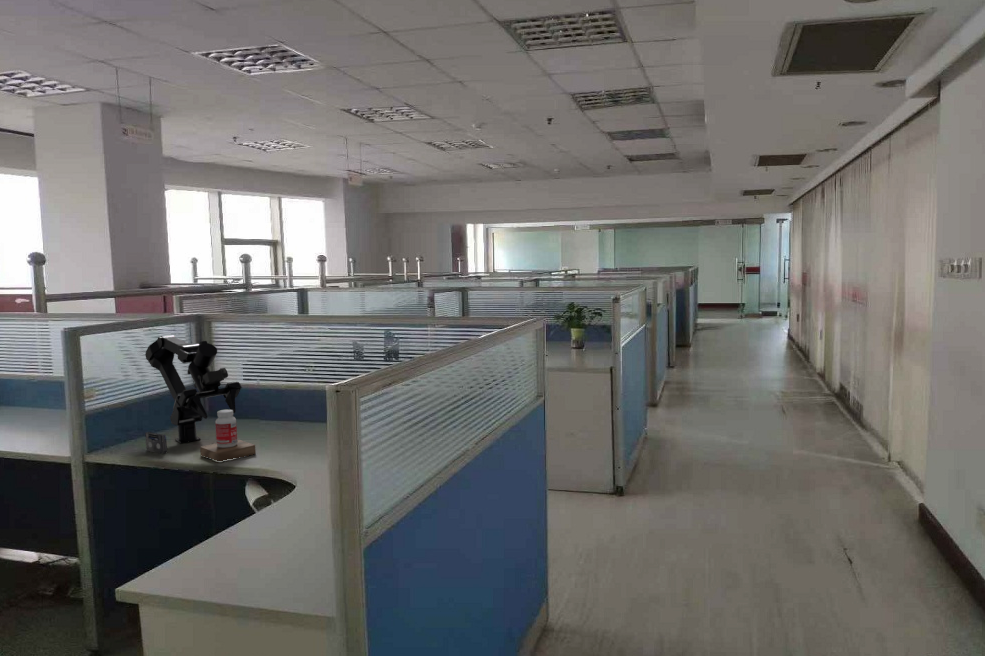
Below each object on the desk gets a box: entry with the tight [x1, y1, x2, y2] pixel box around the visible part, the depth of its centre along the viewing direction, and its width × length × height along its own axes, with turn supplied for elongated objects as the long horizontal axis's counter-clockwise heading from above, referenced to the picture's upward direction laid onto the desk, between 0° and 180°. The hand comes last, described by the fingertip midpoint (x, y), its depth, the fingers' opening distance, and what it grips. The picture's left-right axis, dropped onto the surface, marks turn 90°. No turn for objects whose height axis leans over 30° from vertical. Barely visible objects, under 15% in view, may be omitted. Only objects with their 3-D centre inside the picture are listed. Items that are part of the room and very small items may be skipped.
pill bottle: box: [214, 409, 238, 448], centre depth 226 cm, size 6×6×11 cm
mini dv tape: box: [144, 431, 168, 454], centre depth 233 cm, size 8×2×6 cm, turn 61°
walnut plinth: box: [199, 438, 257, 461], centre depth 227 cm, size 12×12×3 cm
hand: (220, 415), depth 228 cm, fingers open, 9 cm apart
